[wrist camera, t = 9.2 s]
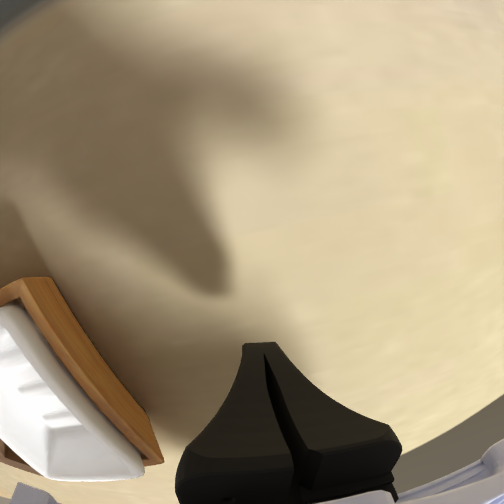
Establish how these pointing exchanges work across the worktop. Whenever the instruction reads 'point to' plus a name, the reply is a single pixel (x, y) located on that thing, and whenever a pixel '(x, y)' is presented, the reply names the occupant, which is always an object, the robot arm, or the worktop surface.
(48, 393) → the soap dish
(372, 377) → the worktop surface
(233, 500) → the robot arm
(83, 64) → the worktop surface
